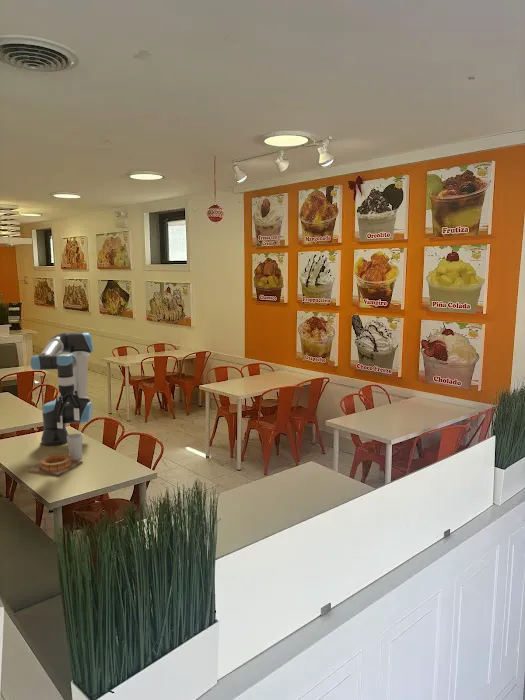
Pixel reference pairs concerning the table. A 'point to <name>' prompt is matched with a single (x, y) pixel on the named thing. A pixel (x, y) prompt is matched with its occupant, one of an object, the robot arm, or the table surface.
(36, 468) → the collar board
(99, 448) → the table surface
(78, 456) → the cup
